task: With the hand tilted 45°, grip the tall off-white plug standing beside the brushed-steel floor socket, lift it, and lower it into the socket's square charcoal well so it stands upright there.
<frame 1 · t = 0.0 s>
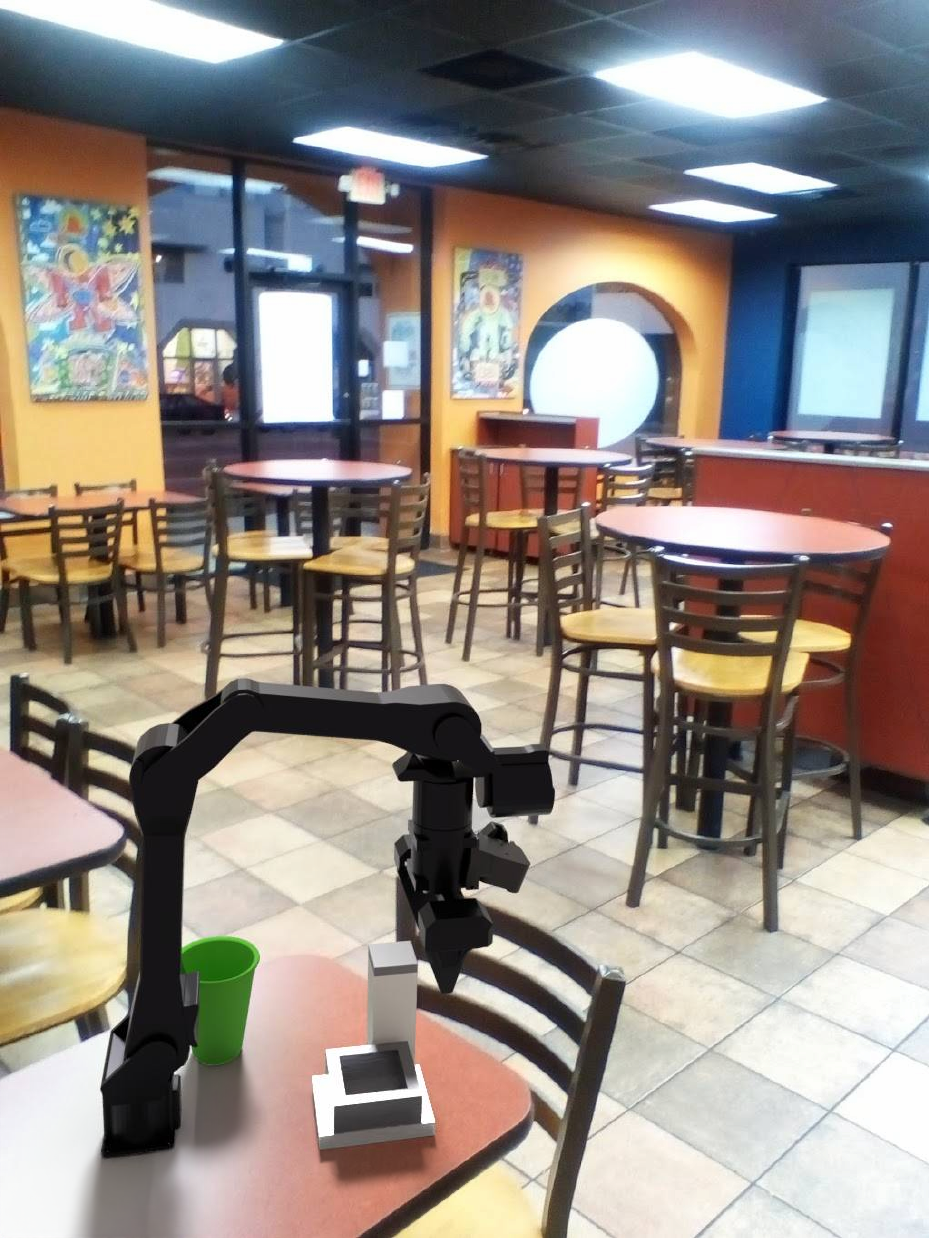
hand: (437, 966, 100), 15 cm above the table, tool pointing down, fingers open, 9 cm apart
plug: (390, 1058, 108), on the table
cup: (217, 1052, 109), on the table
socket: (371, 1111, 100), on the table
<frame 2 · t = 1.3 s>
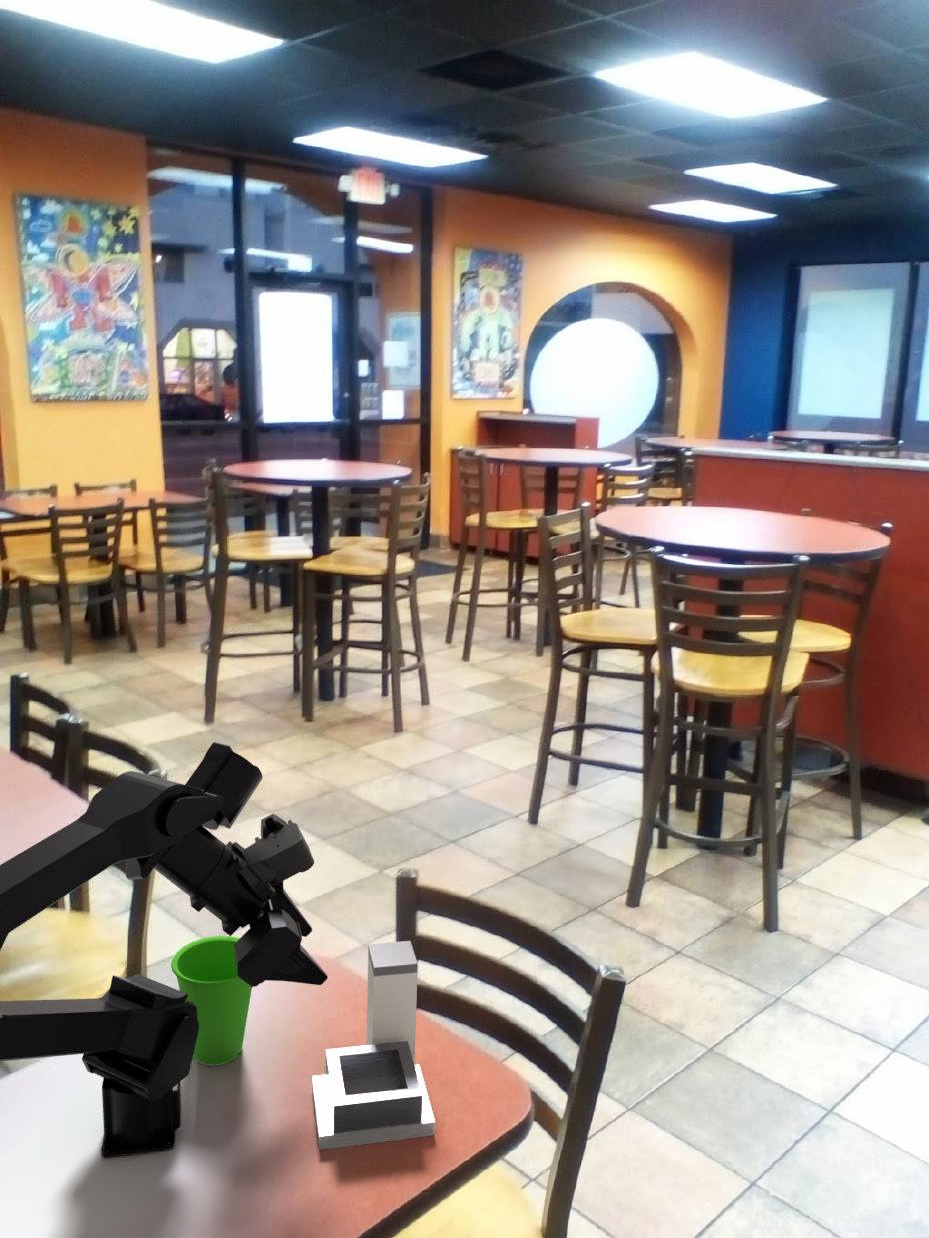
hand: (316, 955, 103), 13 cm above the table, tool tilted 45°, fingers open, 9 cm apart
nothing on the table moved.
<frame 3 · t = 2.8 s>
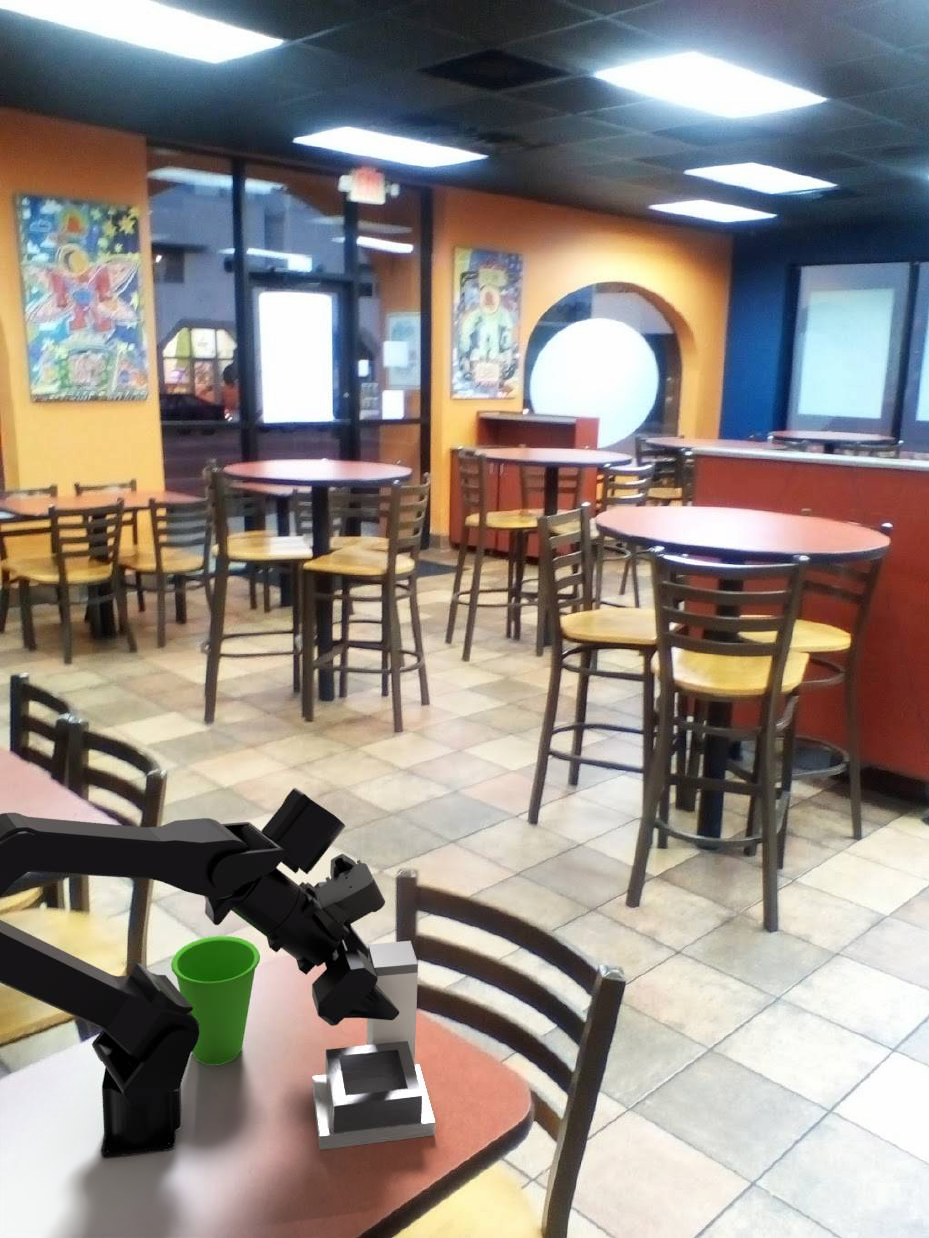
hand: (385, 990, 106), 8 cm above the table, tool tilted 45°, fingers open, 9 cm apart
nothing on the table moved.
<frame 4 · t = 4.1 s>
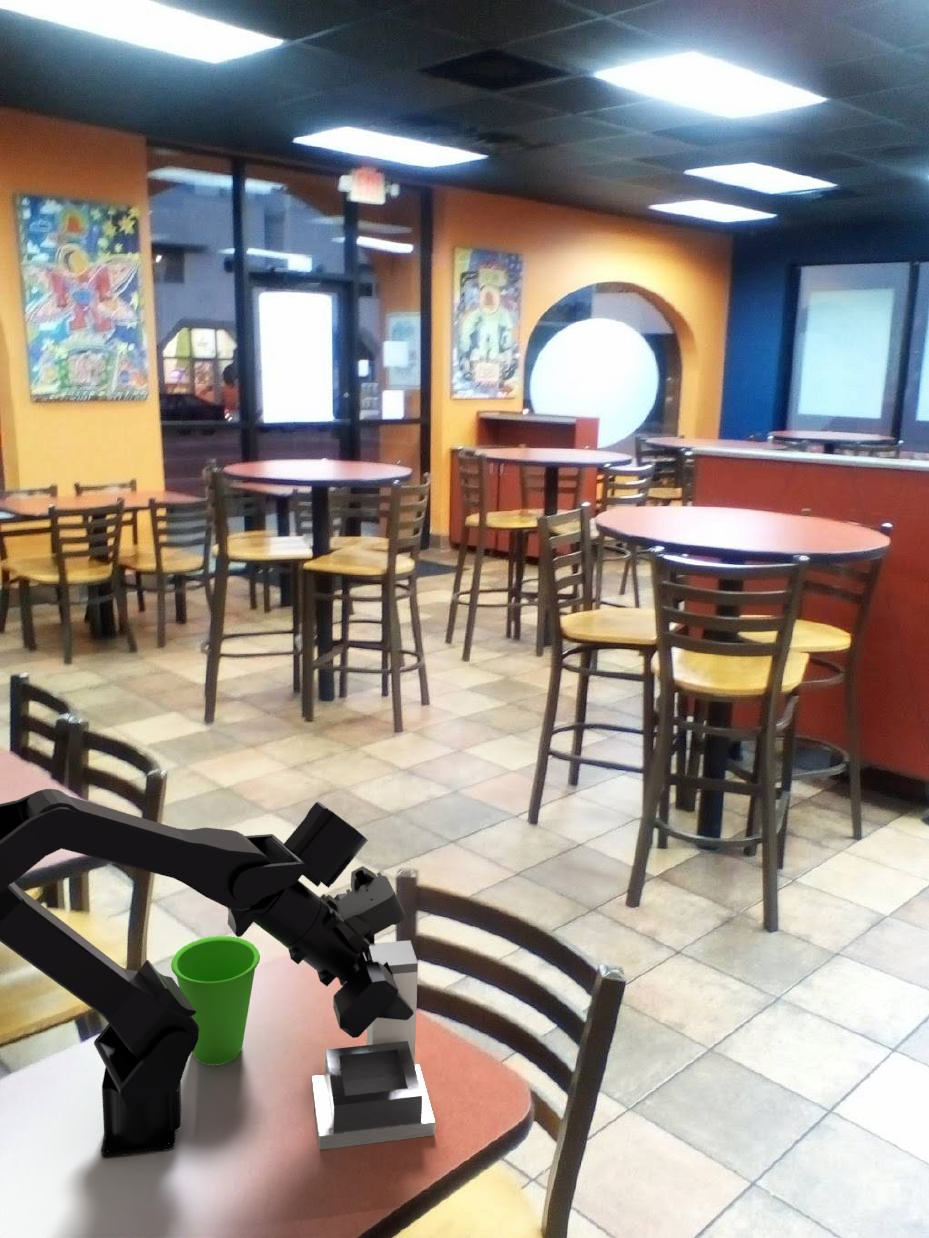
hand: (404, 1001, 107), 7 cm above the table, tool tilted 45°, fingers closed on plug, 5 cm apart
plug: (390, 1058, 108), on the table, touching gripper
everything else where it was.
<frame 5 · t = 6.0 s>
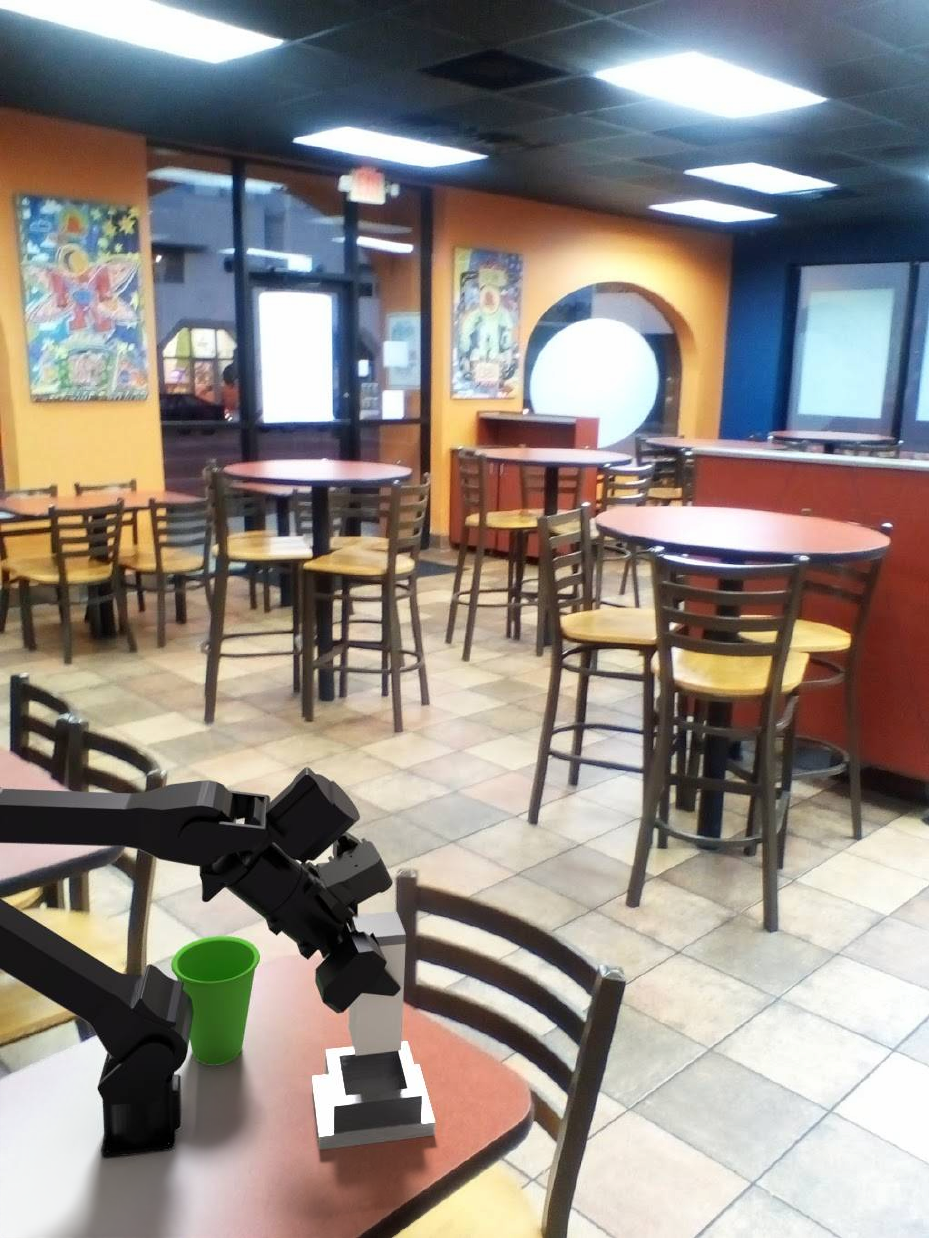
hand: (390, 977, 100), 13 cm above the table, tool tilted 45°, fingers closed on plug, 5 cm apart
plug: (374, 1038, 101), point 7 cm above the table, touching gripper
everything else where it was.
when the fingers open (9 cm above the table, at t = 8.0 s): plug stays where it is, resting on socket.
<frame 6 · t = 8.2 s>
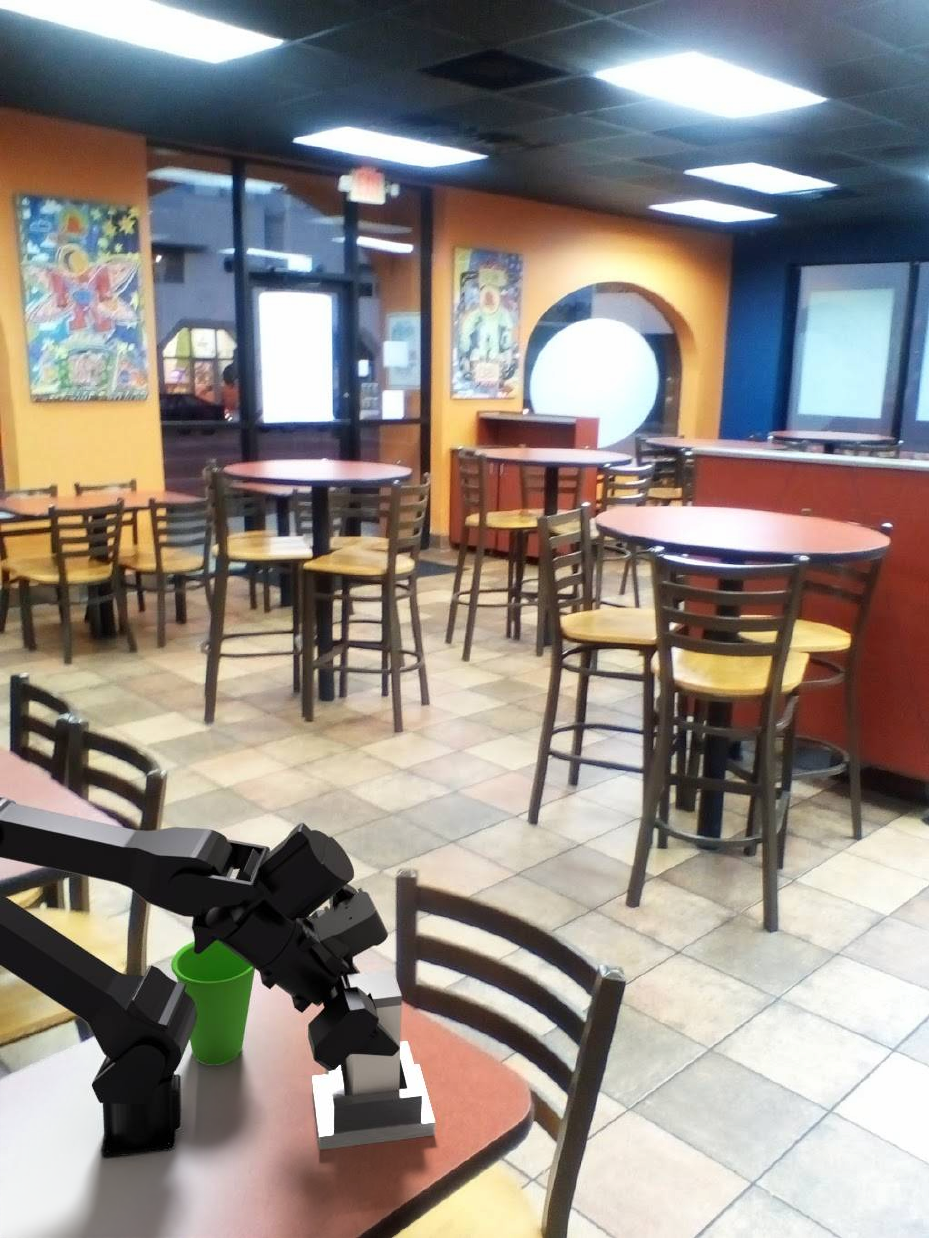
hand: (387, 1028, 99), 9 cm above the table, tool tilted 45°, fingers open, 7 cm apart
plug: (371, 1098, 100), point 1 cm above the table, touching socket
everything else where it was.
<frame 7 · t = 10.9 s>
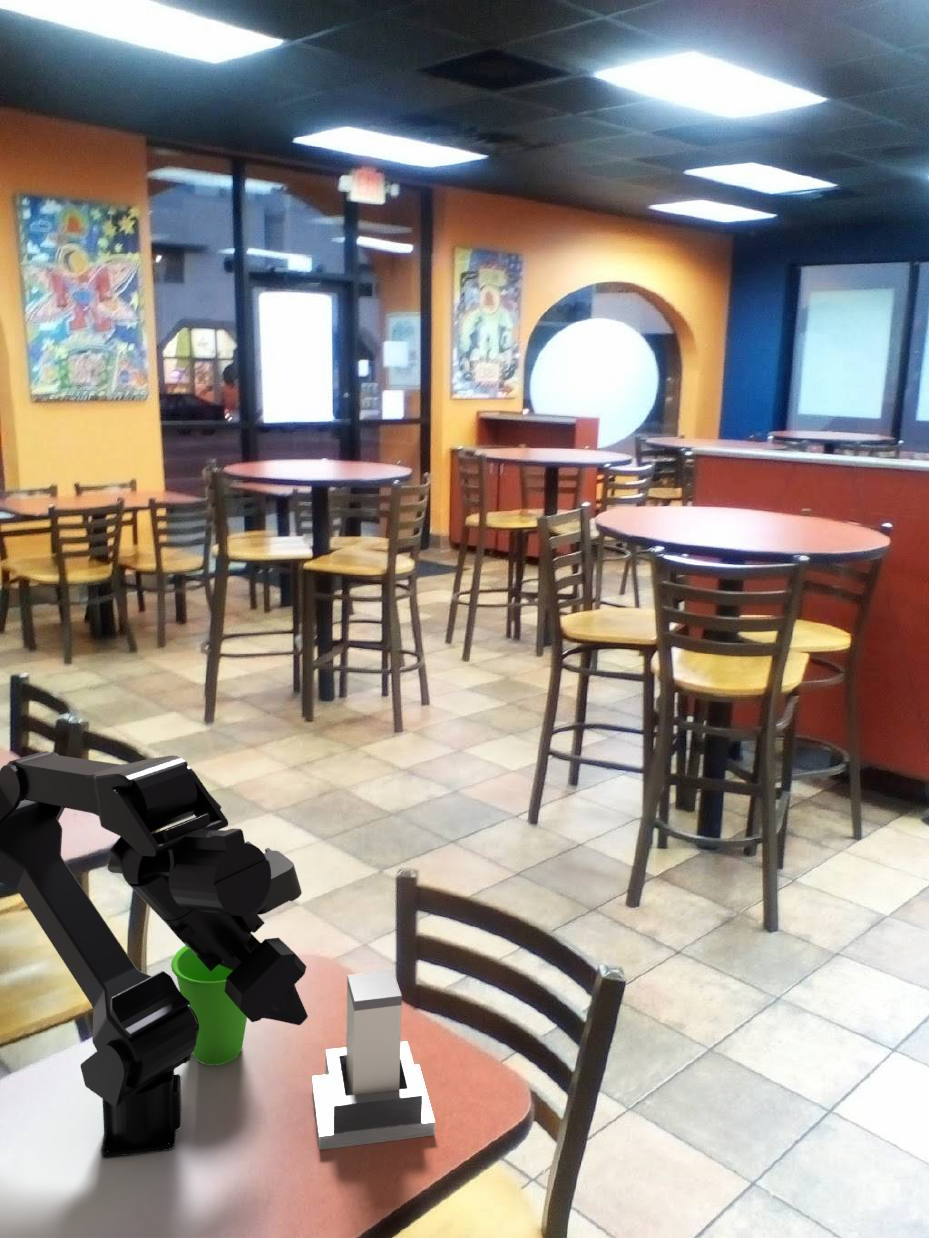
hand: (281, 997, 96), 13 cm above the table, tool tilted 35°, fingers open, 9 cm apart
nothing on the table moved.
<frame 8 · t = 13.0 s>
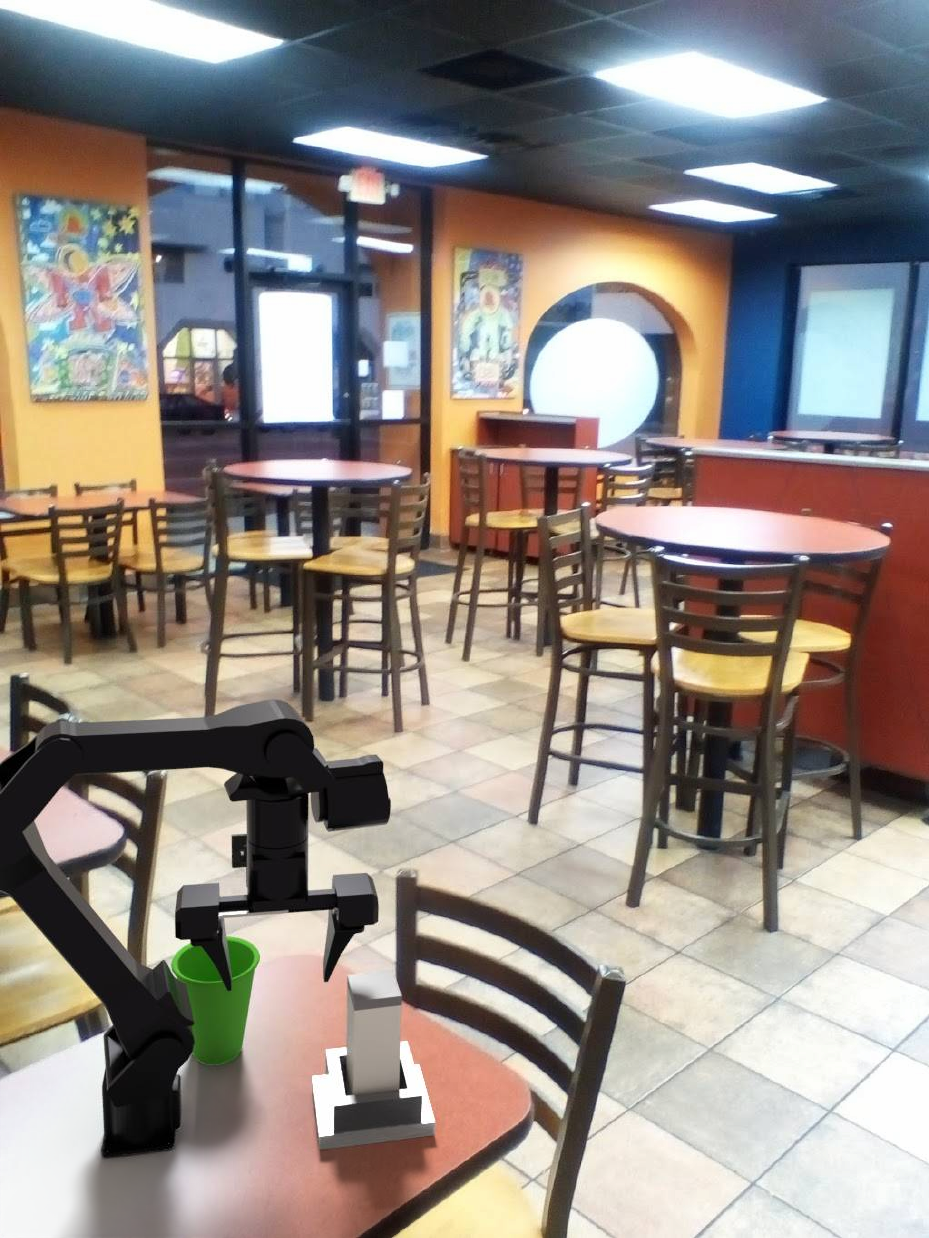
hand: (278, 984, 98), 13 cm above the table, tool pointing down, fingers open, 9 cm apart
nothing on the table moved.
at the end: plug 0.0 cm off-centre on the socket, point 1.5 cm above the socket's base; plug tilted 0°; the gripper is holding nothing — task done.
